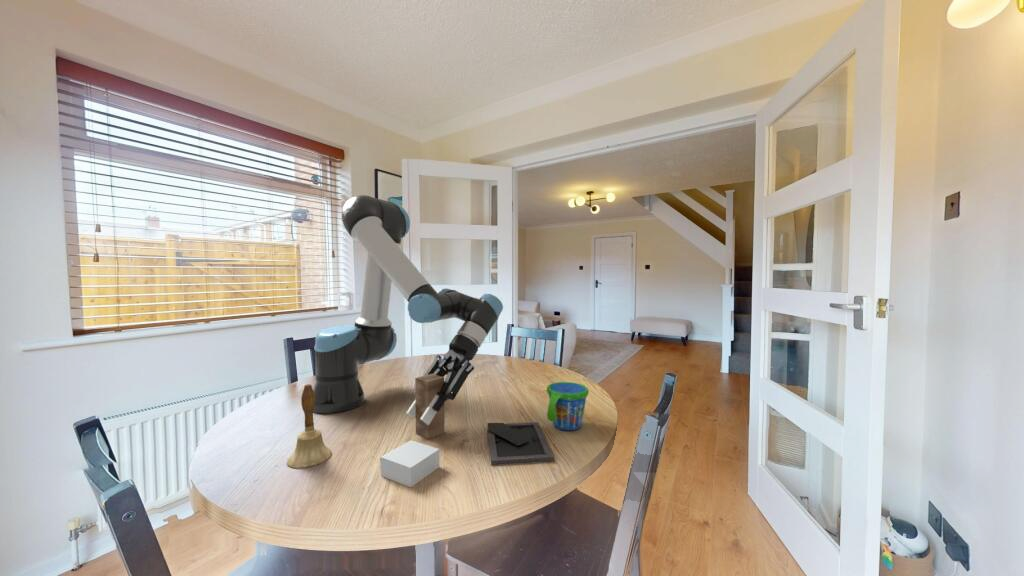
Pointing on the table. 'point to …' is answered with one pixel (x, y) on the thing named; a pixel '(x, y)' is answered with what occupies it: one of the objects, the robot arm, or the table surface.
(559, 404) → the snack cup
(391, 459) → the white block
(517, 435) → the picture frame
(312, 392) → the hand bell
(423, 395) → the walnut block
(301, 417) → the table surface
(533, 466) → the table surface
